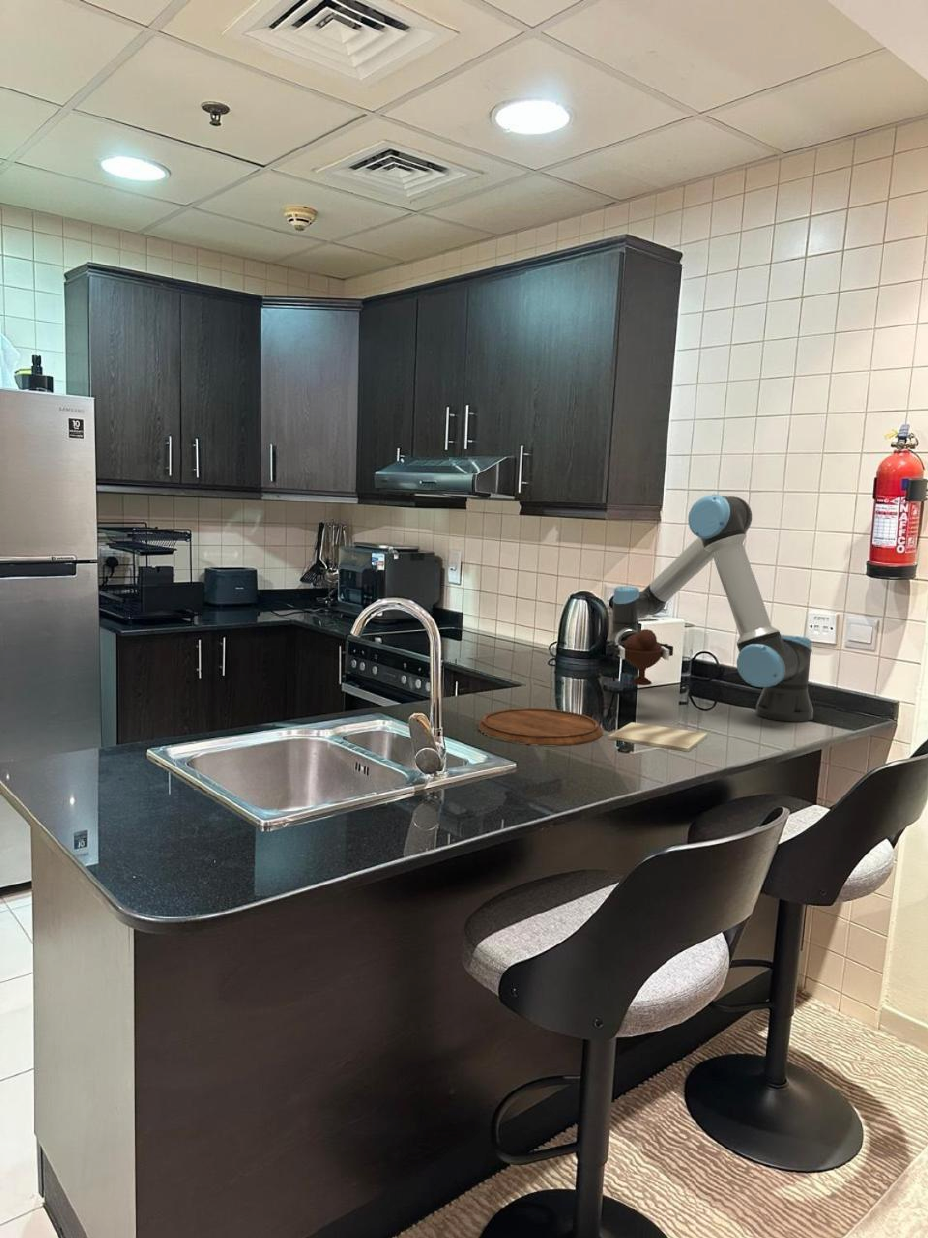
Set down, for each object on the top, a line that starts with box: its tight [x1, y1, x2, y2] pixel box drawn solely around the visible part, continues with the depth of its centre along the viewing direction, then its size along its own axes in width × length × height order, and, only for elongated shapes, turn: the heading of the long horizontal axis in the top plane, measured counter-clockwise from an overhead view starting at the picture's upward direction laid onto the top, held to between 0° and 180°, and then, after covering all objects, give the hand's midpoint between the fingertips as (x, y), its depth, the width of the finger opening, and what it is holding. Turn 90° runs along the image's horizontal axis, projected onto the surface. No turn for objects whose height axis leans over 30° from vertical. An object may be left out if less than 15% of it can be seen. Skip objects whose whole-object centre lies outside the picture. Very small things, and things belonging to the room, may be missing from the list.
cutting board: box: [477, 707, 604, 747], centre depth 223 cm, size 32×32×2 cm
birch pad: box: [607, 721, 708, 752], centre depth 217 cm, size 20×17×1 cm
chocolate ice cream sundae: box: [624, 628, 663, 686], centre depth 236 cm, size 11×11×15 cm
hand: (645, 654), depth 232 cm, fingers closed on chocolate ice cream sundae, 11 cm apart
